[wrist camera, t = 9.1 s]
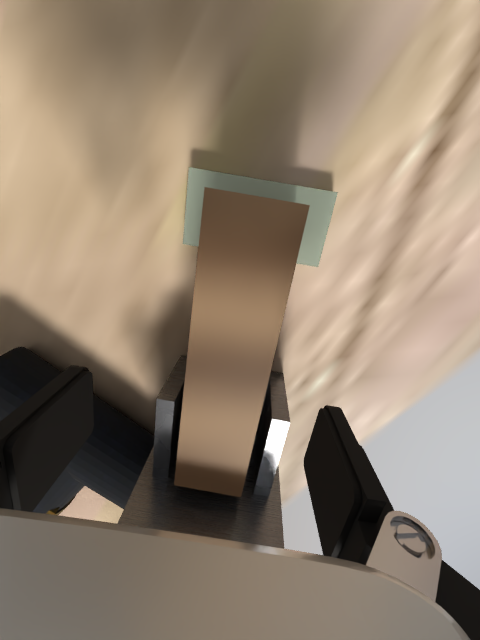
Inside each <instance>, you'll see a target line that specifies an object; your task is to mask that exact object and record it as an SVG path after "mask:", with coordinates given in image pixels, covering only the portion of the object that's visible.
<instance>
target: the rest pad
mask: <svg viewBox="0 0 480 640" xmlns="http://www.w3.org/2000/svg"><path fill="white" fill-rule="evenodd" d="M204 187H208V188H214V189H219V190H225V191H231V192H237V193H242V194H248V195H254V196H260V197H266V198H271V199H277V200H283V201H289V202H294V203H300V204H306V205H310V207H309V211H308V215H307V220H306V224H305V228H304V232H303V237H302V241H301V245H300V249H299V254H298V258H297V262H296V263H297V264H303V265H309V266H315V267H318V265H319V261H320V258H321V254H322V250H323V246H324V242H325V239H326V235H327V231H328V227H329V223H330V220H331V216H332V212H333V208H334V204H335V201H336V197H337V193H338V192H333V191H327V190H321V189H315V188H309V187H303V186H298V185H292V184H286V183H280V182H274V181H268V180H262V179H256V178H250V177H244V176H238V175H233V174H227V173H221V172H215V171H209V170H203V169H197V168H191V167H189V174H188V186H187V199H186V212H185V224H184V237H183V244H186V245H192V246H199V236H200V226H201V217H202V207H203V197H204Z"/></svg>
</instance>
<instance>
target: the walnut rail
mask: <svg viewBox="0 0 480 640" xmlns="http://www.w3.org/2000/svg"><path fill="white" fill-rule="evenodd" d="M309 207H310V205H306V204H300V203H294V202H289V201H283V200H277V199H271V198H266V197H260V196H254V195H248V194H242V193H237V192H231V191H225V190H219V189H214V188H208V187H204V197H203V207H202V217H201V226H200V236H199V246H198V256H197V265H196V275H195V285H194V295H193V305H192V314H191V324H190V334H189V344H188V353H187V363H186V373H185V383H184V392H183V402H182V412H181V422H180V431H179V441H178V451H177V461H176V471H175V480H174V485H176V486H181V487H187V488H192V489H198V490H203V491H209V492H214V493H220V494H225V495H231V496H237V497H241V495H242V491H243V487H244V482H245V478H246V474H247V470H248V466H249V461H250V457H251V453H252V449H253V444H254V440H255V436H256V432H257V427H258V423H259V419H260V415H261V410H262V406H263V402H264V398H265V393H266V389H267V385H268V381H269V376H270V372H271V368H272V364H273V360H274V355H275V351H276V347H277V343H278V338H279V334H280V330H281V326H282V321H283V317H284V313H285V309H286V304H287V300H288V296H289V292H290V287H291V283H292V279H293V275H294V271H295V266H296V262H297V258H298V254H299V249H300V245H301V241H302V237H303V232H304V228H305V224H306V220H307V215H308V211H309Z"/></svg>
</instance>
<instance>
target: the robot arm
mask: <svg viewBox="0 0 480 640" xmlns="http://www.w3.org/2000/svg"><path fill="white" fill-rule="evenodd" d="M93 427H94V413H93V378H92V373H91V372H89V370H88V368H86V367H80V366H70V367H68V368H67V369H66V370H65V371H63V372H62V373H61V374H59V375H58V376H57V377H56V378H54V379H53V380H52V381H51V382H49V383H48V384H47V385H46V386H44V387H43V388H42V389H41V390H39V391H38V392H37V393H35V394H34V395H33V396H32V397H30V398H29V399H28V400H27V401H25V402H24V403H23V404H22V405H20V406H19V407H18V408H17V409H15V410H14V411H13V412H11V413H10V414H9V415H8V416H6V417H5V418H4V419H3V420H1V421H0V640H480V590H479V589H478V588H477V587H475V586H474V585H473V584H471V583H470V582H469V581H468V580H467V579H465V578H464V577H463V576H462V575H460V574H459V573H458V572H457V571H455V570H454V569H453V568H451V567H450V566H449V565H448V564H447V563H445V562H444V561H443V560H442V553H441V549H440V546H439V544H438V541H437V540H436V539H435V537H434V535H433V534H432V533H431V532H430V530H428V528H427V527H426V526H425V525H424V524H423V523H421V522H420V521H419V520H418V519H416V518H415V517H413V516H411V515H409V514H407V513H404V512H401V511H394V509H393V507H392V505H391V503H390V501H389V499H388V497H387V495H386V493H385V491H384V489H383V487H382V485H381V483H380V481H379V479H378V477H377V475H376V473H375V471H374V469H373V467H372V465H371V463H370V461H369V459H368V457H367V455H366V453H365V451H364V449H363V448H362V446H360V445H359V444H358V442H357V440H356V438H355V436H354V434H353V432H352V430H351V428H350V426H349V424H348V422H347V420H346V417H345V415H344V413H343V411H342V409H341V408H339V407H334V406H327V405H326V406H325V407H324V409H323V408H320V410H319V412H318V416H317V419H316V422H315V425H314V428H313V432H312V435H311V438H310V441H309V444H308V448H307V451H306V454H305V457H304V469H305V474H306V478H307V483H308V488H309V492H310V496H311V500H312V506H313V510H314V515H315V519H316V523H317V528H318V533H319V537H320V542H321V546H322V551H323V555H318V554H312V553H306V552H300V551H295V550H289V549H283V548H276V547H270V546H263V545H257V544H250V543H244V542H237V541H230V540H224V539H217V538H211V537H204V536H197V535H191V534H184V533H177V532H170V531H163V530H156V529H150V528H143V527H136V526H129V525H122V524H115V523H108V522H101V521H94V520H87V519H79V518H72V517H65V516H58V515H51V514H44V513H36V512H33V510H34V509H35V508H36V506H37V505H38V504H39V502H40V501H41V500H42V498H43V497H44V496H45V494H46V493H47V492H48V490H49V489H50V488H51V486H52V485H53V484H54V482H55V481H56V480H57V478H58V477H59V476H60V475H61V473H62V472H63V471H64V469H65V468H66V467H67V465H68V464H69V463H70V461H71V460H72V459H73V457H74V456H75V455H76V453H77V452H78V451H79V449H80V448H81V447H82V445H83V444H84V443H85V441H86V440H87V439H88V437H89V436H90V435H91V433H92V431H93Z"/></svg>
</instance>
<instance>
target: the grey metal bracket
mask: <svg viewBox="0 0 480 640" xmlns="http://www.w3.org/2000/svg"><path fill="white" fill-rule="evenodd" d="M186 363H187V357H186V356H181V357H180V358H179V360H178V362H177V364H176V366H175V367H174V369H173V371H172V373H171V374H170V376H169V378H168V380H167V381H166V383H165V385H164V387H163V388H162V390H161V392H160V394H159V395H158V397H157V401H156V419H155V437H154V446H153V448H152V450H151V453H150V455H149V457H148V459H147V461H146V463H145V465H144V468H143V470H142V472H141V474H140V476H139V478H138V481H137V483H136V485H135V487H134V489H133V491H132V493H131V496H130V498H129V500H128V502H127V504H126V506H125V509H124V511H123V513H122V515H121V517H120V519H119V521H118V524H122V525H129V526H136V527H143V528H150V529H156V530H163V531H170V532H177V533H184V534H191V535H197V536H204V537H211V538H217V539H224V540H230V541H237V542H244V543H250V544H257V545H263V546H270V547H276V548H283V549H284V540H283V526H282V511H281V497H280V483H279V469H278V463H279V459H280V456H281V452H282V449H283V445H284V442H285V438H286V435H287V431H288V428H289V424H290V418H289V411H288V404H287V397H286V390H285V383H284V377H283V373H278V372H272V371H271V372H270V376H269V381H268V385H267V389H266V393H265V398H264V402H263V406H262V410H261V415H260V419H259V423H258V427H257V432H256V436H255V440H254V444H253V449H252V453H251V457H250V461H249V466H248V470H247V474H246V478H245V482H244V487H243V491H242V495H241V497H237V496H231V495H225V494H220V493H214V492H209V491H203V490H198V489H192V488H187V487H181V486H176V485H174V480H175V471H176V461H177V451H178V441H179V431H180V422H181V412H182V402H183V392H184V383H185V373H186Z"/></svg>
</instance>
